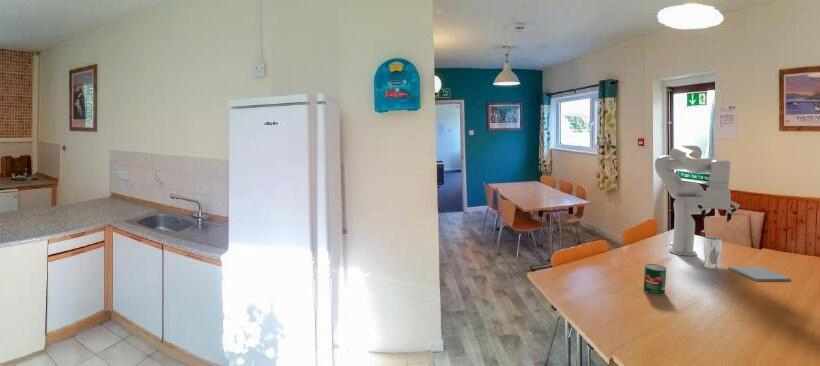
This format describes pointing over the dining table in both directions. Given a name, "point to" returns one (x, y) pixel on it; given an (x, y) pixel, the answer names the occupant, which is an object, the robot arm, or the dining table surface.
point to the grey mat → (759, 274)
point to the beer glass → (712, 251)
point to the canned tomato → (655, 279)
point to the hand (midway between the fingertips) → (715, 219)
